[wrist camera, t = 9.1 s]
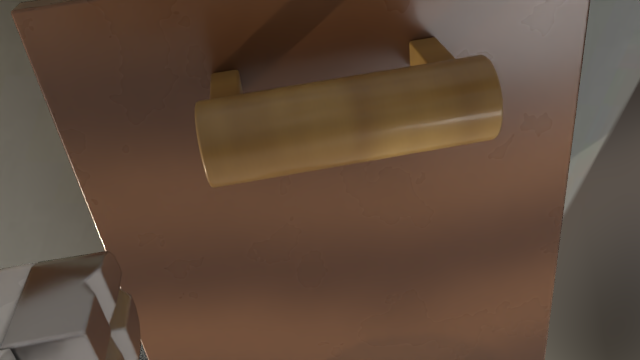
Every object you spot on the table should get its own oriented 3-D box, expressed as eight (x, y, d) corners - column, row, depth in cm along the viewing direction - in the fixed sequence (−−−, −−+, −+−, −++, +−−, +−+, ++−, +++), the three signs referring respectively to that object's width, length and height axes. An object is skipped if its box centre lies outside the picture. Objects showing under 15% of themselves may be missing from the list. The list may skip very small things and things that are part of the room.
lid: (19, 1, 14) (-65, 78, 10) (584, -85, 15) (721, -46, 11) (191, 451, 23) (186, 585, 19) (531, 385, 24) (593, 500, 20)
